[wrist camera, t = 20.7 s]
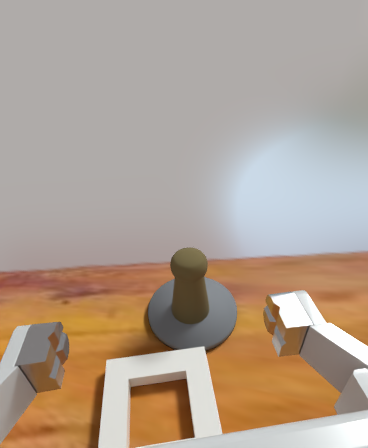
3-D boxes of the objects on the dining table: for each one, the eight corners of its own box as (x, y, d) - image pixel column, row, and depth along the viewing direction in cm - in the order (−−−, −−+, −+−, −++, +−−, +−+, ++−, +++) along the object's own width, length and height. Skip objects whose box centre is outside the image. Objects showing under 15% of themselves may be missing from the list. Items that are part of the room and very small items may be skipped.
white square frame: (98, 497, 28) (93, 491, 27) (109, 368, 38) (106, 360, 37) (228, 474, 29) (229, 467, 28) (204, 354, 40) (204, 346, 38)
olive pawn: (166, 319, 43) (160, 266, 37) (177, 290, 48) (174, 238, 42) (205, 328, 42) (205, 274, 36) (212, 297, 47) (214, 244, 40)
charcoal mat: (150, 358, 39) (149, 354, 39) (147, 284, 51) (147, 280, 50) (248, 344, 41) (249, 340, 40) (224, 275, 52) (224, 271, 51)
